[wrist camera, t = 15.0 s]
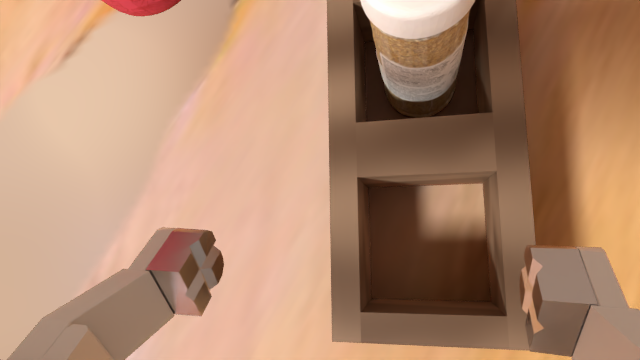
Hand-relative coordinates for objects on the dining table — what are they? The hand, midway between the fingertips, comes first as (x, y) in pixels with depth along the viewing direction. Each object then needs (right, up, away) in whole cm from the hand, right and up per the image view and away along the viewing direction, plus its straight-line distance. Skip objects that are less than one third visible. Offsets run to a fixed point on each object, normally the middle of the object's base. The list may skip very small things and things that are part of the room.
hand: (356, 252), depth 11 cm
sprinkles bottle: (+6, +8, +17) cm, 19 cm away
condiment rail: (+6, +3, +16) cm, 17 cm away
